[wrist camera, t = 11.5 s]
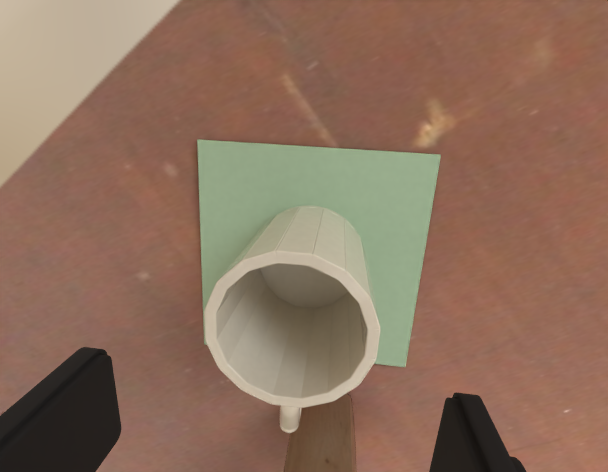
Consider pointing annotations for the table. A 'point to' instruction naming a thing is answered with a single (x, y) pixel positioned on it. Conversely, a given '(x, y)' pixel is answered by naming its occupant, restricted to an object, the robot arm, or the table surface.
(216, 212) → the mat
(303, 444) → the wooden block
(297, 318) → the mug
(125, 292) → the table surface
